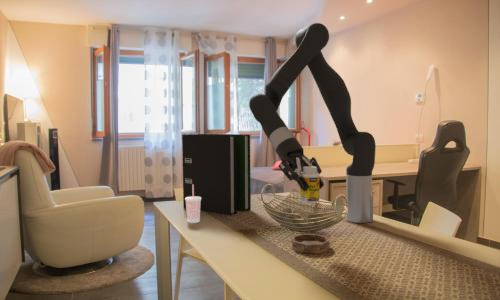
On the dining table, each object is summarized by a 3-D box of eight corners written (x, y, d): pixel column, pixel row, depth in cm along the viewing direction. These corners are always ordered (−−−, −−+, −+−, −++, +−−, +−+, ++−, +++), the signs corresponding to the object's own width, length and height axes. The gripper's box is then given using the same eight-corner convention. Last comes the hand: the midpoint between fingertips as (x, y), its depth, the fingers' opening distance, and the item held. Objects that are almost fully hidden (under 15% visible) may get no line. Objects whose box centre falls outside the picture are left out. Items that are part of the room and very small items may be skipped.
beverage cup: (197, 218, 150) (196, 182, 150) (204, 221, 145) (204, 184, 144) (182, 220, 147) (182, 184, 146) (189, 224, 142) (188, 186, 141)
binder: (251, 210, 165) (251, 134, 163) (228, 216, 153) (227, 135, 151) (206, 202, 182) (205, 133, 180) (182, 207, 170) (180, 134, 168)
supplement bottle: (308, 204, 109) (309, 168, 109) (296, 201, 114) (296, 166, 113) (323, 202, 112) (323, 167, 112) (310, 199, 117) (310, 165, 116)
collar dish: (325, 242, 119) (325, 233, 119) (331, 254, 108) (331, 244, 108) (290, 242, 119) (290, 233, 119) (293, 254, 109) (293, 244, 109)
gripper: (274, 137, 113) (303, 182, 105) (308, 135, 122) (338, 177, 114) (262, 154, 118) (289, 199, 109) (296, 151, 127) (324, 193, 118)
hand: (314, 188), depth 112 cm, fingers closed on supplement bottle, 5 cm apart
